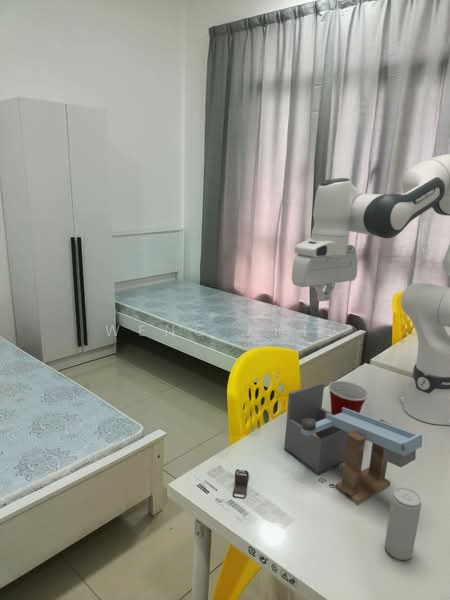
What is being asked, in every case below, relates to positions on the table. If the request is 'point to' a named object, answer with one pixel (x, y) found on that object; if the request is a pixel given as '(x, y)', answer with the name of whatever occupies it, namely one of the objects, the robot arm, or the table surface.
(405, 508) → the beverage can
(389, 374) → the table surface
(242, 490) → the grey hinged case
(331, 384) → the plastic cup
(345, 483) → the stand
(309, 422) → the lever
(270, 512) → the table surface
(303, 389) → the bin
